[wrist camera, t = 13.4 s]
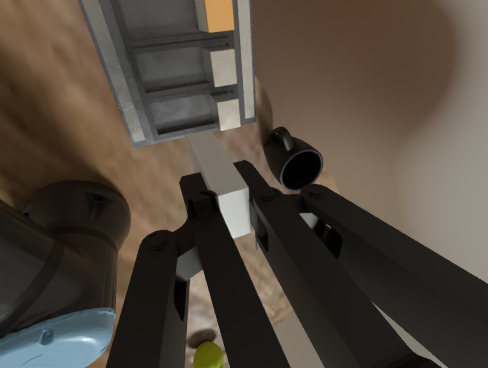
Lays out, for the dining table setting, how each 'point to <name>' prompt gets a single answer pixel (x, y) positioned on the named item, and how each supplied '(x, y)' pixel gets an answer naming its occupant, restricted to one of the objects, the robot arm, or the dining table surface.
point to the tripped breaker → (214, 15)
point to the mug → (292, 160)
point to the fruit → (208, 356)
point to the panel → (174, 67)
